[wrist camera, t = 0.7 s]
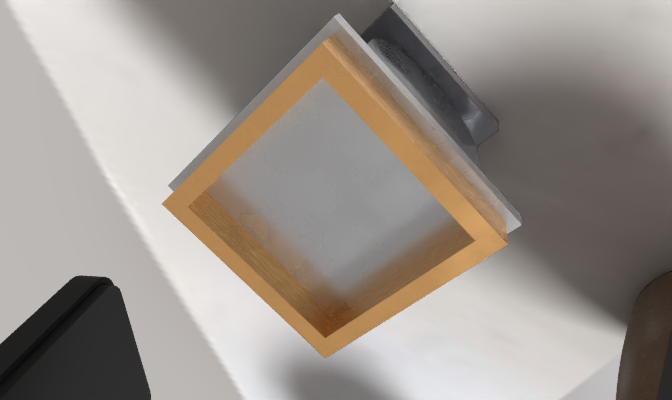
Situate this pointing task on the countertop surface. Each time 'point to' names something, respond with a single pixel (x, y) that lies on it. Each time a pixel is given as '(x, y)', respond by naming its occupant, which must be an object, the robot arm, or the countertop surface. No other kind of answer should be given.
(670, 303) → the plant pot
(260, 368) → the countertop surface
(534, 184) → the countertop surface
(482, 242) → the tray on grey cylinder
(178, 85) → the countertop surface
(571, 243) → the countertop surface
